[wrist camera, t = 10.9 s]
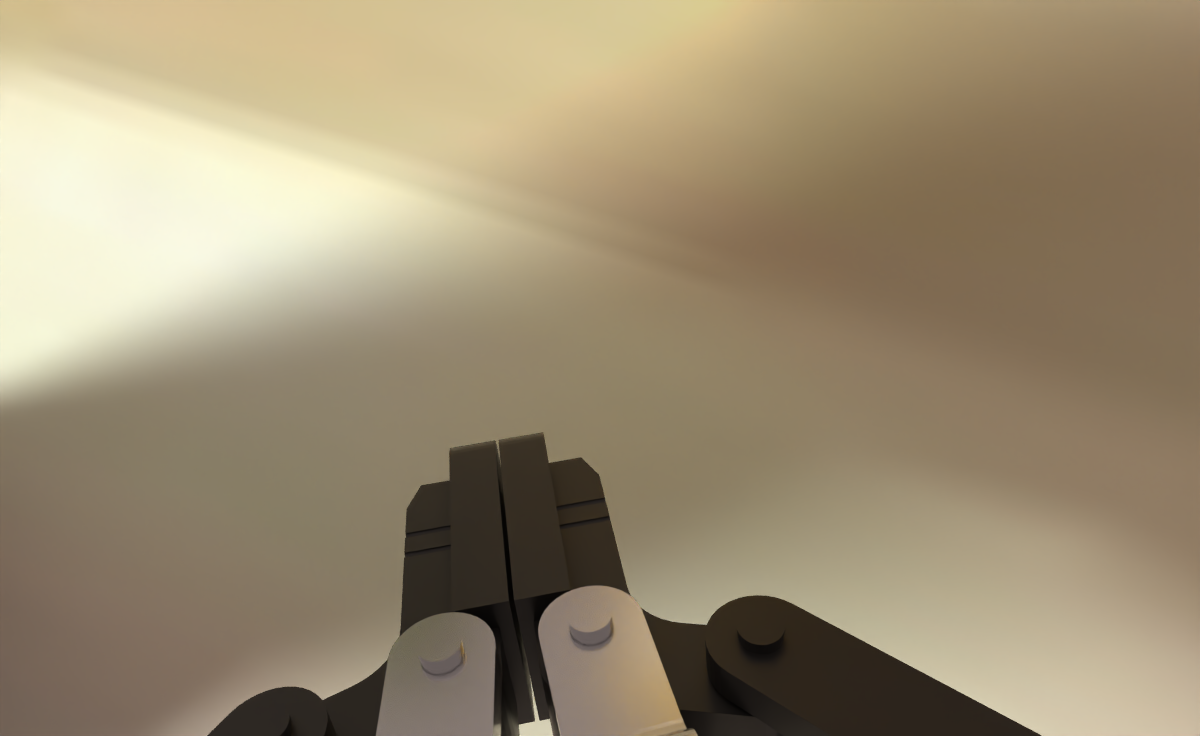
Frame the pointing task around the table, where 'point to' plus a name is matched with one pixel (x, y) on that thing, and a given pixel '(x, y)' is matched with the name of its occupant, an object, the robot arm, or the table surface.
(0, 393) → the table surface
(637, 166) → the table surface
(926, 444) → the table surface
